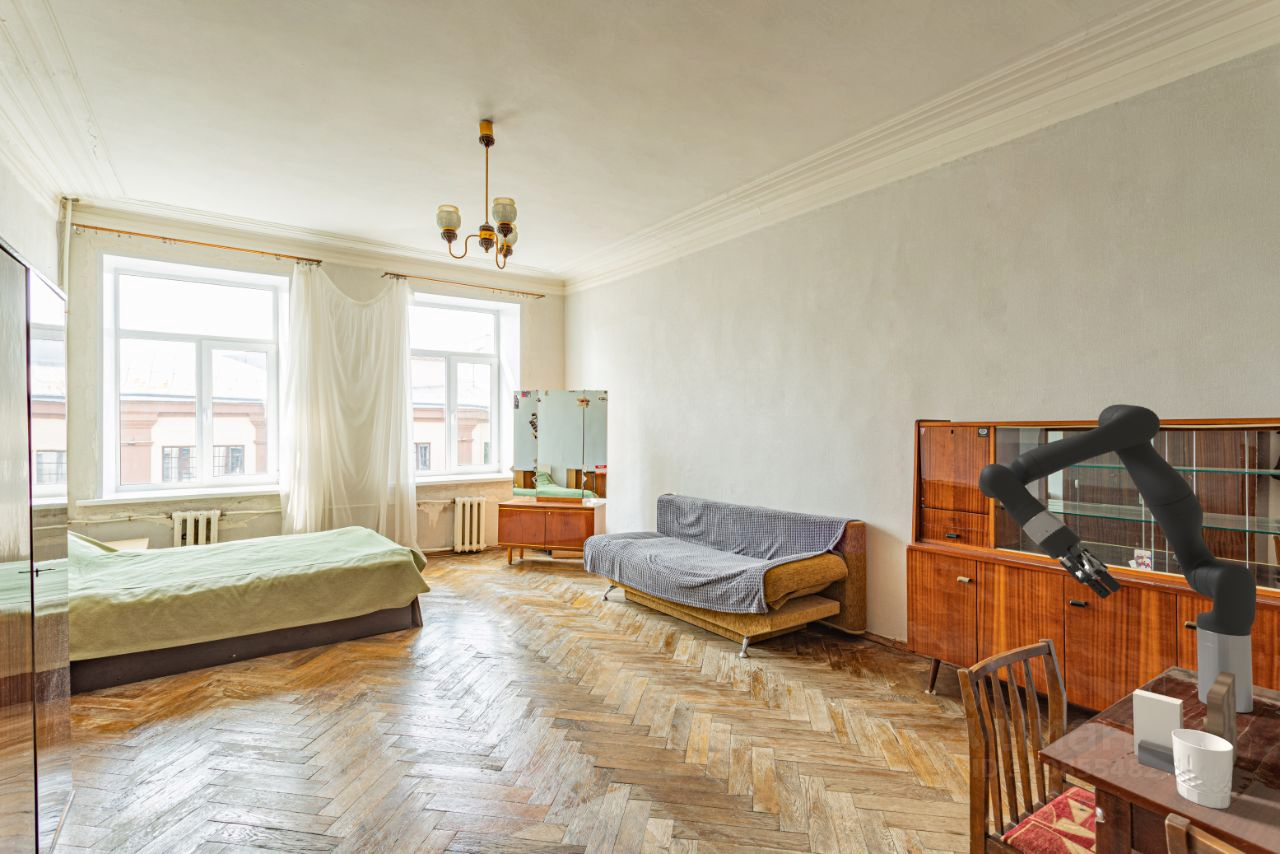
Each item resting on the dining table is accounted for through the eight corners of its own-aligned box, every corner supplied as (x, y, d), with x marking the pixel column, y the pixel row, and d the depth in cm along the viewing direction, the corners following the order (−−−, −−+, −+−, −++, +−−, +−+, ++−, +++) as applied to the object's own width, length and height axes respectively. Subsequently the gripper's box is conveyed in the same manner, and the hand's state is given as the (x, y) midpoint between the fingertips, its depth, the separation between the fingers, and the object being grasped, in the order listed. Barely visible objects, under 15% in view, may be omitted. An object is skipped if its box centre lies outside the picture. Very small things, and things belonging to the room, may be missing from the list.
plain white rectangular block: (1138, 749, 123) (1136, 689, 124) (1184, 763, 118) (1182, 700, 118) (1134, 754, 121) (1132, 693, 122) (1181, 768, 116) (1179, 704, 116)
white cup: (1163, 791, 109) (1161, 734, 109) (1188, 781, 112) (1187, 725, 112) (1219, 816, 102) (1217, 754, 102) (1244, 804, 105) (1243, 745, 105)
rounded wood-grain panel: (1158, 734, 129) (1156, 657, 130) (1237, 756, 120) (1235, 674, 120) (1138, 762, 118) (1136, 678, 119) (1224, 789, 109) (1221, 698, 109)
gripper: (1053, 526, 136) (1119, 588, 127) (1073, 520, 145) (1136, 577, 136) (1027, 547, 140) (1089, 609, 131) (1048, 540, 149) (1107, 597, 140)
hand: (1113, 593), depth 134 cm, fingers open, 8 cm apart
